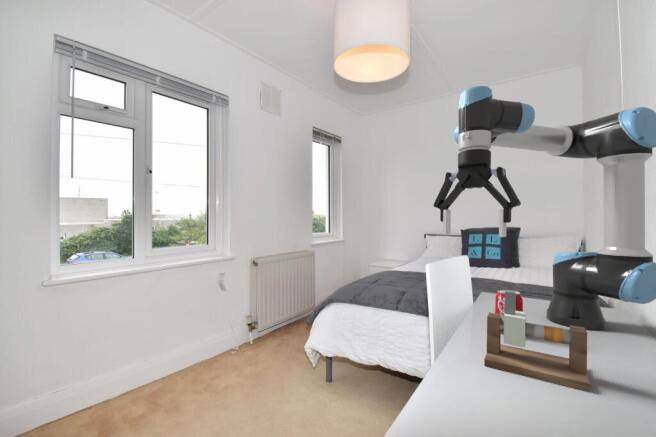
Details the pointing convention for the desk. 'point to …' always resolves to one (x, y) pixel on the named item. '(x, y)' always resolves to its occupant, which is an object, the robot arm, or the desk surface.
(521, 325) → the collar
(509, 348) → the pipe rig
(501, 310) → the soda can
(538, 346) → the desk surface
